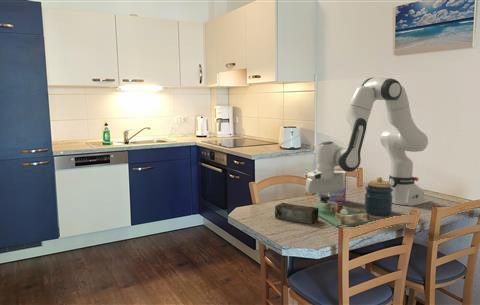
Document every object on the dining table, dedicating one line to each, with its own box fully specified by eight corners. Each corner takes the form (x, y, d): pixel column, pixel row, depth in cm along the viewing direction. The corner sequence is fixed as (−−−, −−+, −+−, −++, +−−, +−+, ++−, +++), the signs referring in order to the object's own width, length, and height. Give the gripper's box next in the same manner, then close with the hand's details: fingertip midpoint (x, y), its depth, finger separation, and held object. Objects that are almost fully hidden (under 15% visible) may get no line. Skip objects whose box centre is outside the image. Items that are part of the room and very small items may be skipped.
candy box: (344, 199, 221) (345, 170, 218) (345, 202, 215) (346, 172, 212) (319, 198, 223) (320, 169, 221) (319, 201, 217) (320, 171, 215)
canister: (366, 215, 192) (368, 179, 190) (362, 207, 205) (363, 174, 202) (394, 216, 190) (396, 180, 188) (388, 209, 203) (390, 174, 201)
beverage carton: (281, 213, 195) (282, 200, 194) (319, 220, 185) (319, 206, 184) (274, 218, 188) (274, 204, 187) (312, 225, 178) (313, 211, 177)
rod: (319, 204, 206) (319, 194, 205) (324, 203, 206) (324, 194, 206) (336, 213, 190) (337, 203, 189) (342, 213, 191) (342, 202, 190)
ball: (344, 215, 189) (345, 207, 189) (349, 217, 186) (349, 209, 185) (338, 215, 188) (338, 208, 187) (342, 218, 185) (342, 210, 184)
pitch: (338, 205, 209) (339, 200, 208) (375, 223, 181) (375, 216, 180) (304, 208, 203) (304, 203, 202) (336, 227, 174) (336, 220, 174)
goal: (361, 217, 186) (361, 210, 185) (369, 221, 180) (369, 213, 180) (334, 220, 181) (335, 212, 181) (342, 224, 176) (342, 216, 175)
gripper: (339, 171, 208) (338, 197, 210) (304, 173, 201) (303, 200, 203) (346, 173, 202) (345, 200, 204) (310, 176, 195) (309, 203, 197)
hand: (324, 200), depth 203 cm, fingers closed on rod, 3 cm apart
